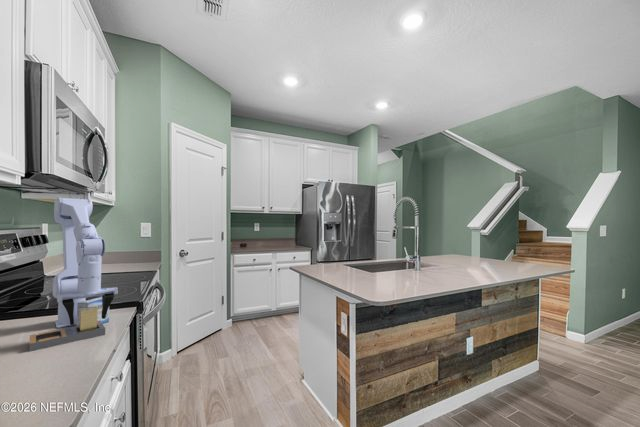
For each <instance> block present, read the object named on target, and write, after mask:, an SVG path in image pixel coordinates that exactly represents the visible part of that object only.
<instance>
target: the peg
mask: <svg viewBox="0 0 640 427" xmlns="http://www.w3.org/2000/svg"><path fill="white" fill-rule="evenodd" d="M97 313H98V308H97V307H96V306H93V307H87V308H81V309H79V332H82V331H87V330H92V329H97Z"/></svg>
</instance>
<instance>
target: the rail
mask: <svg viewBox="0 0 640 427" xmlns="http://www.w3.org/2000/svg"><path fill="white" fill-rule="evenodd" d="M105 335H106V326H104V323H103V324H102V323H101V322H99V323H97V329H92V330H87V331H82V332H79V326H78V327H77V326H74V327H69V328H59V329H56V330H55V329H54V330H50V331H49V330H48V331H44V332H39V333H38V334H35V333H34V334H30V335H29V344H28V345H29V346H28V347H29V352H32V351H36V350H42V349H47V348H50V347H54V346H55V347H56V346H60V345H64V344H69V343H74V342H78V341H83V340H87V339H91V338H95V337H100V336H105Z"/></svg>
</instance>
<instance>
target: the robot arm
mask: <svg viewBox="0 0 640 427" xmlns="http://www.w3.org/2000/svg"><path fill="white" fill-rule="evenodd" d="M93 204H94V203H93V202H92V200H91V199H90V198H87V199H86V198H69V197H60V196H58V197H57V198H55V200H54V205H53V215H54V216H53V218H54V221H55V223H57V224H59V225H61V230H62V247H63V248H62V251H63V254H62V255H63V270H61V271H60V272H58V273H57V274H56V275H54V277H53V282H52V296H53V297H54V298H55V299H56V301H57V304H58V306H57V319H55V320H54V323H55V327H56V328H57V329H61V328H64V327H70V326H74V325H76V326H77V303H78V302H82V301H86V300H87V299H89V298H94V297H95V298H96V297H102V319H105V318H106V313H107V310H108V308H109V309H110V305H111V303H112V302H113V300H114V299H115V298H114V297H115V295H118V293H119V291H118V289H119V288H118V287H117V286H116V287H115V286H114V287H103V288H102V264H103V263H102V261H103V260H102V258H103V257H104V254H105V252H106V242H105V239H104V238H103V237H101V236H99V233H98V232H97V231H98V230H97V229H96V226H95V225H94V224H93V223H91V222H90V217H91V215H92V212H93V208H94V207H93V206H94V205H93Z"/></svg>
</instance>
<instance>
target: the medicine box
mask: <svg viewBox="0 0 640 427" xmlns="http://www.w3.org/2000/svg"><path fill="white" fill-rule="evenodd" d="M93 306H96V307H97V308H98V313H97V323H99V322H101V323H102V324H103V325H104V324H106V323H108V322H109V321H110V307H109V308H108V310H107V313H106V318H105V319H102V296H97V297H95V298H94V297H93V298H91V299H88V300H87V299H86V301H82V302H78V303H77V324H76V327H78V326H79V309H81V308H87V307H93Z"/></svg>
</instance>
